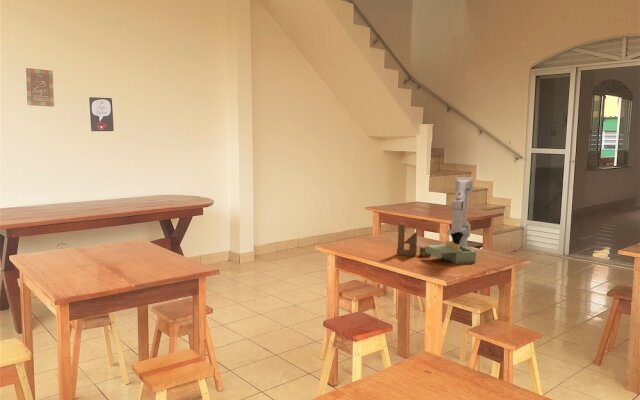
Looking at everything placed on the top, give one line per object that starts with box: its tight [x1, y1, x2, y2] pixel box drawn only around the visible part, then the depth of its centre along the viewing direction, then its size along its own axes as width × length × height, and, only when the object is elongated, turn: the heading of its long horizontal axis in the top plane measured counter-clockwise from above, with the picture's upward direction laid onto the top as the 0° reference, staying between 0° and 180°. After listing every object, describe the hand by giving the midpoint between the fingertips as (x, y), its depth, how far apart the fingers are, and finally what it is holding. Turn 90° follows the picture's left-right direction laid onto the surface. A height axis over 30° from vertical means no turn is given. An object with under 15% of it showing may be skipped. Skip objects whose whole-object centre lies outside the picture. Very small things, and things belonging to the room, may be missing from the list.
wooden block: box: [396, 223, 418, 258], centre depth 303 cm, size 4×11×18 cm, turn 68°
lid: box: [424, 240, 462, 260], centre depth 291 cm, size 16×13×6 cm
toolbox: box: [442, 246, 477, 265], centre depth 295 cm, size 16×12×6 cm
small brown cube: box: [419, 245, 432, 258], centre depth 303 cm, size 4×5×5 cm
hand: (456, 245), depth 294 cm, fingers closed
